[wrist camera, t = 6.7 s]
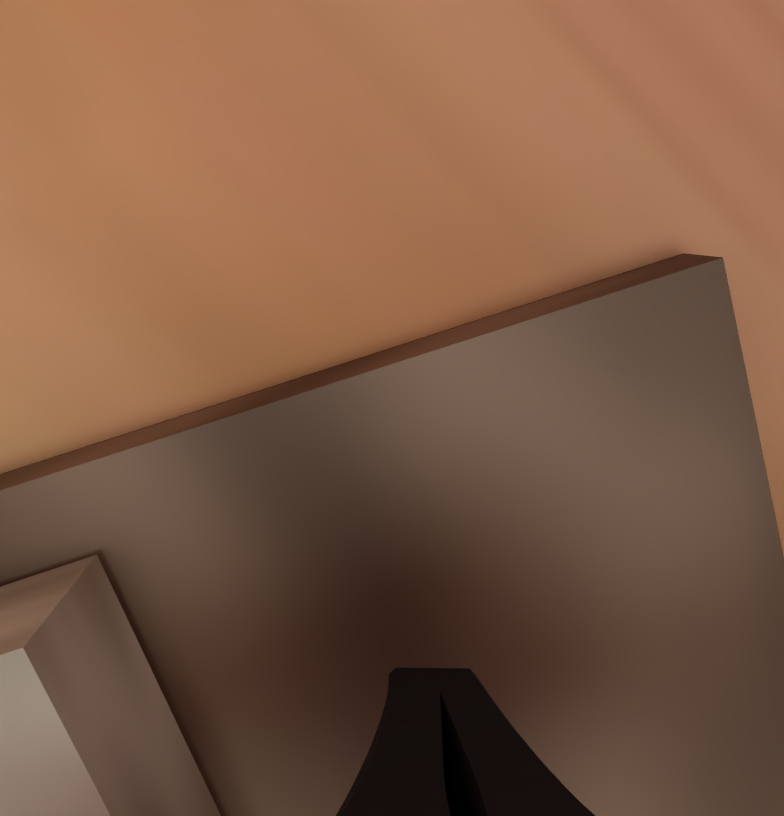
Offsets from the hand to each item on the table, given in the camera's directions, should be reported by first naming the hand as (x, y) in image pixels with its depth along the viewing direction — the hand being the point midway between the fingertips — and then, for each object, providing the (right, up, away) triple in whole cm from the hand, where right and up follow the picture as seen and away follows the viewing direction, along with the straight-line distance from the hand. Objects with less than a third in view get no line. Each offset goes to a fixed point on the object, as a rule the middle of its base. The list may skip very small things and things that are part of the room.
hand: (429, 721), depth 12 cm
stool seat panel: (-1, -1, +3) cm, 4 cm away
